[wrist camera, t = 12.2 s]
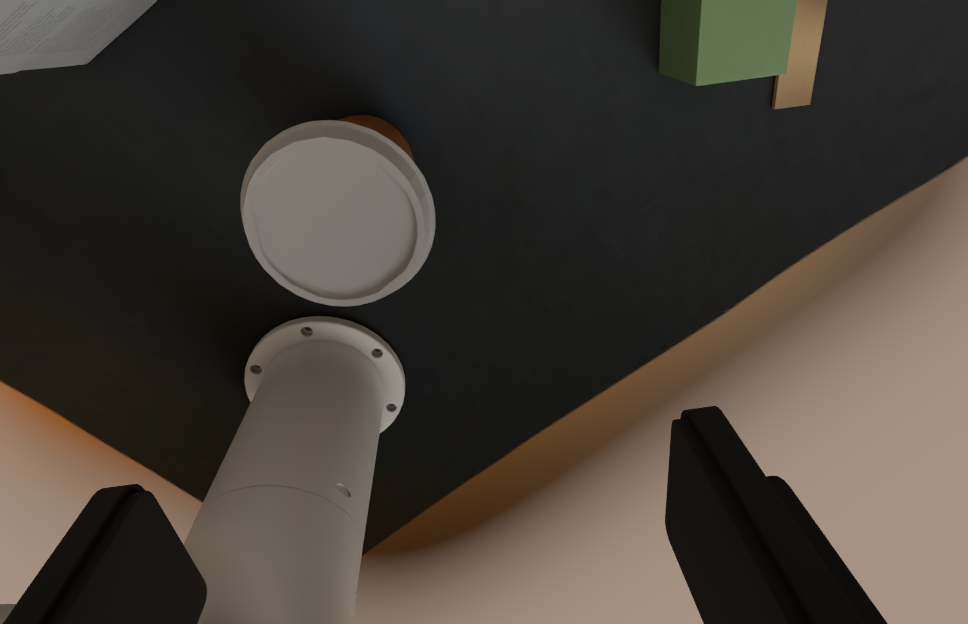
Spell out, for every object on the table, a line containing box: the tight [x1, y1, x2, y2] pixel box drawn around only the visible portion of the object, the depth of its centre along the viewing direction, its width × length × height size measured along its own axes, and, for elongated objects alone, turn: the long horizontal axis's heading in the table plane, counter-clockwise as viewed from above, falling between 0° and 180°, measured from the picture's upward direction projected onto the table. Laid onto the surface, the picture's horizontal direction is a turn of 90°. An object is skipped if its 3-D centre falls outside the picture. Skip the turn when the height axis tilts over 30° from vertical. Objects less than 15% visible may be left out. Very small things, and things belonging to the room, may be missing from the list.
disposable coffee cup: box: [241, 115, 435, 306], centre depth 32 cm, size 10×10×12 cm
